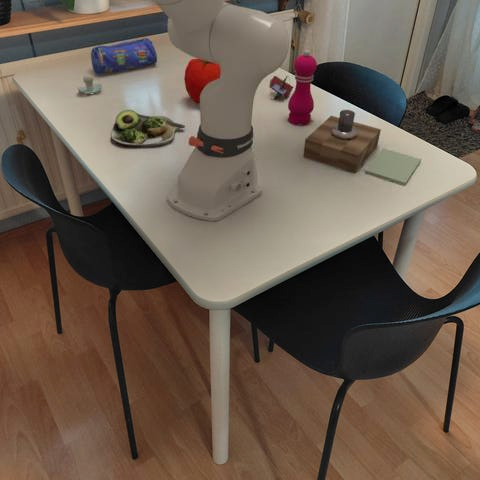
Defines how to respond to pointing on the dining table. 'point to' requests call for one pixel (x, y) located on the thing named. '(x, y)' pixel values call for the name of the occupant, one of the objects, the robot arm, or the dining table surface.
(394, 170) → the mat
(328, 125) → the block
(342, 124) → the flanged metal shaft
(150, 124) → the salad plate
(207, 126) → the robot arm
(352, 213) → the dining table surface
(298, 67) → the pepper mill
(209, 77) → the tomato
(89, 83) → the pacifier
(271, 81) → the geometric puzzle
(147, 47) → the pencil case
